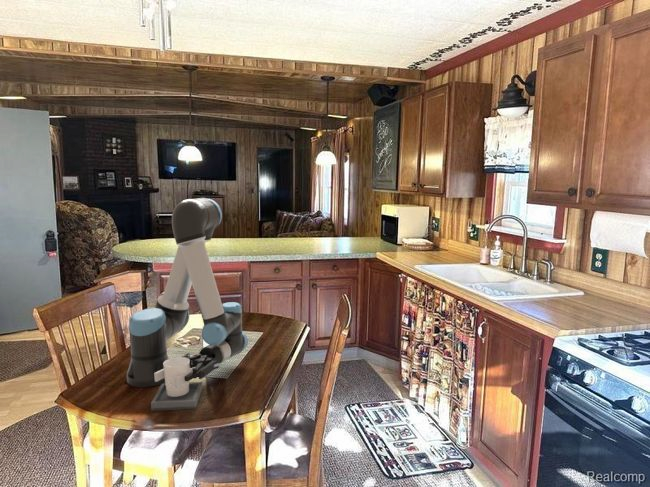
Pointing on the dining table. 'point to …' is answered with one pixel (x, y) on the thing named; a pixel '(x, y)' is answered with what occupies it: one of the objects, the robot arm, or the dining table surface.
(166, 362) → the white cup
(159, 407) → the charcoal tray
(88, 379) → the dining table surface
